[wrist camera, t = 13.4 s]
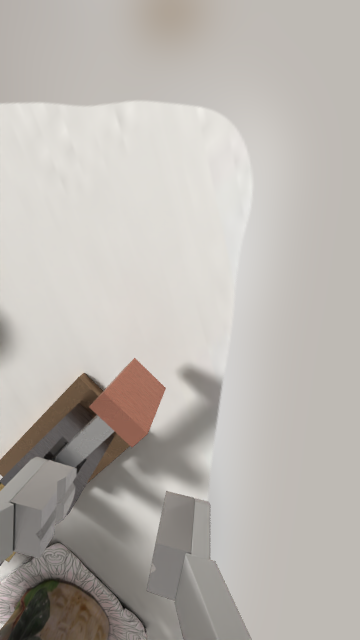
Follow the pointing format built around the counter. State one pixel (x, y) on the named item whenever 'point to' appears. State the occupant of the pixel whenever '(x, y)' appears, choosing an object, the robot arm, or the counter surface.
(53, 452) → the shaft rig
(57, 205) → the counter surface
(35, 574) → the cookie jar
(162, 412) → the counter surface
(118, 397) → the shaft
